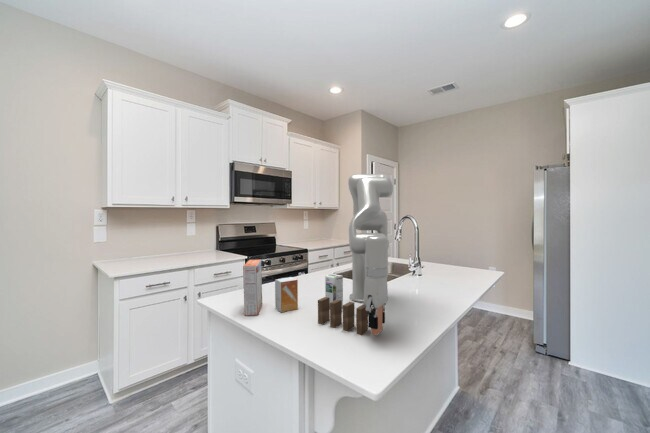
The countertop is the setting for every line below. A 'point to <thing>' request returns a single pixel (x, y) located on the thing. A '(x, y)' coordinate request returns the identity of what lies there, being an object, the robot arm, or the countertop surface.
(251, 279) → the cracker box
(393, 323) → the countertop surface
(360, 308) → the domino
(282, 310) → the small box
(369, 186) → the robot arm
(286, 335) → the countertop surface
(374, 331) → the domino
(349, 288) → the countertop surface
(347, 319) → the domino
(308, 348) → the countertop surface
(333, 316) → the domino
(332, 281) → the syrup box
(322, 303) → the domino
